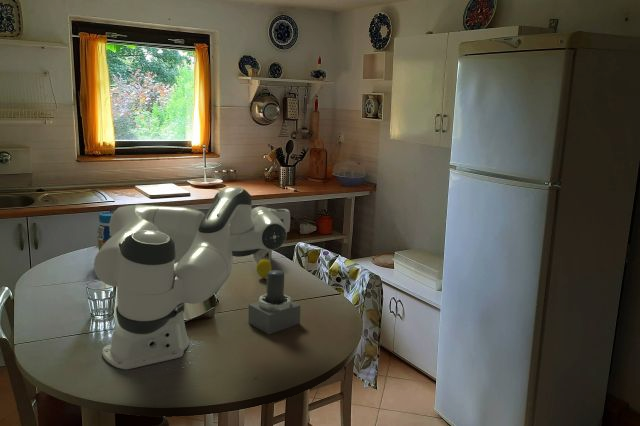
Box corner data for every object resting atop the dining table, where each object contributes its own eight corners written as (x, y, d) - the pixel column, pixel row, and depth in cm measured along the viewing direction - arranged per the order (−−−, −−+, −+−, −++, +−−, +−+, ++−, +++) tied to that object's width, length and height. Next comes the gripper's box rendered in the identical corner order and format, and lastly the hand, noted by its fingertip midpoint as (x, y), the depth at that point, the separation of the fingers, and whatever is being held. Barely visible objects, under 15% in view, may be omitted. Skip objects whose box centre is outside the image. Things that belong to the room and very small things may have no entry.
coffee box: (252, 256, 234) (252, 218, 230) (267, 255, 236) (268, 218, 232) (256, 263, 225) (257, 224, 221) (271, 262, 227) (272, 223, 223)
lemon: (257, 281, 204) (258, 260, 202) (255, 276, 209) (255, 256, 208) (272, 280, 206) (273, 260, 204) (269, 275, 211) (270, 255, 209)
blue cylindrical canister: (100, 260, 219) (97, 211, 215) (122, 259, 221) (121, 211, 217) (97, 267, 211) (95, 216, 207) (121, 266, 214) (119, 216, 209)
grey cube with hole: (269, 334, 162) (269, 308, 160) (248, 322, 169) (248, 298, 167) (299, 323, 170) (300, 299, 168) (278, 313, 177) (279, 289, 175)
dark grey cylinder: (273, 309, 165) (274, 276, 162) (262, 304, 168) (263, 272, 166) (287, 305, 168) (288, 273, 166) (276, 300, 172) (276, 268, 169)
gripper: (225, 234, 158) (218, 222, 171) (294, 231, 165) (282, 220, 177) (225, 213, 157) (218, 202, 169) (295, 210, 163) (283, 201, 176)
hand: (251, 211), depth 174 cm, fingers open, 8 cm apart
